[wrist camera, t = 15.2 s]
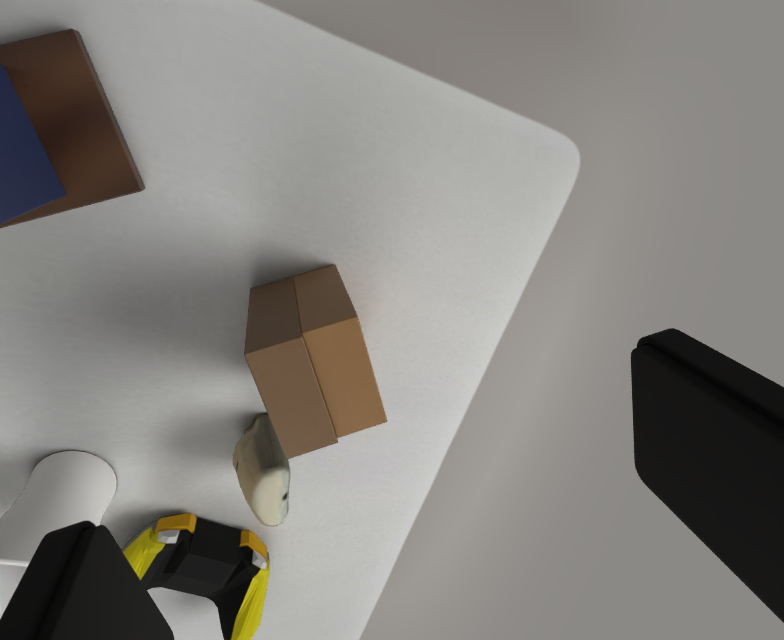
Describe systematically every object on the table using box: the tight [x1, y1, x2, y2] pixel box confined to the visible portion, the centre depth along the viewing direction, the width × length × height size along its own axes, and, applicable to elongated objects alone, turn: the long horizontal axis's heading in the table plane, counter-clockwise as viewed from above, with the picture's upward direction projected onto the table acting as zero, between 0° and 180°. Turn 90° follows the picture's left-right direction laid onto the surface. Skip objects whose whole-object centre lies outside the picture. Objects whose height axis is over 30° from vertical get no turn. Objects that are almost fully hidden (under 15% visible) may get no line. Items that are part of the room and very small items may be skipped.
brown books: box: [244, 265, 387, 459], centre depth 38 cm, size 8×7×12 cm
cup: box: [0, 451, 117, 619], centre depth 38 cm, size 10×10×14 cm
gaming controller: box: [122, 513, 269, 640], centre depth 47 cm, size 15×6×10 cm
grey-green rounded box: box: [233, 413, 290, 526], centre depth 43 cm, size 6×5×8 cm
